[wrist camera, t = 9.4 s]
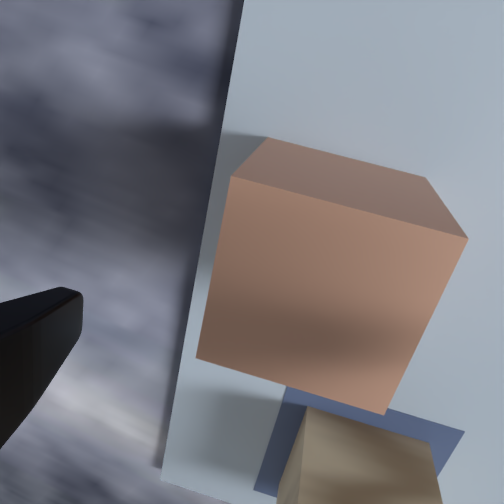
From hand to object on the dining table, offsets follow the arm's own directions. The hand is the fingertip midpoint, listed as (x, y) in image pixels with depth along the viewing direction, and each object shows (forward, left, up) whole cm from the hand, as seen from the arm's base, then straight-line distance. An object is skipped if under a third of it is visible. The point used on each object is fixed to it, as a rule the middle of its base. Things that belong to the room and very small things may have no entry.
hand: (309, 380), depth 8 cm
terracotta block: (0, 0, -7) cm, 7 cm away
